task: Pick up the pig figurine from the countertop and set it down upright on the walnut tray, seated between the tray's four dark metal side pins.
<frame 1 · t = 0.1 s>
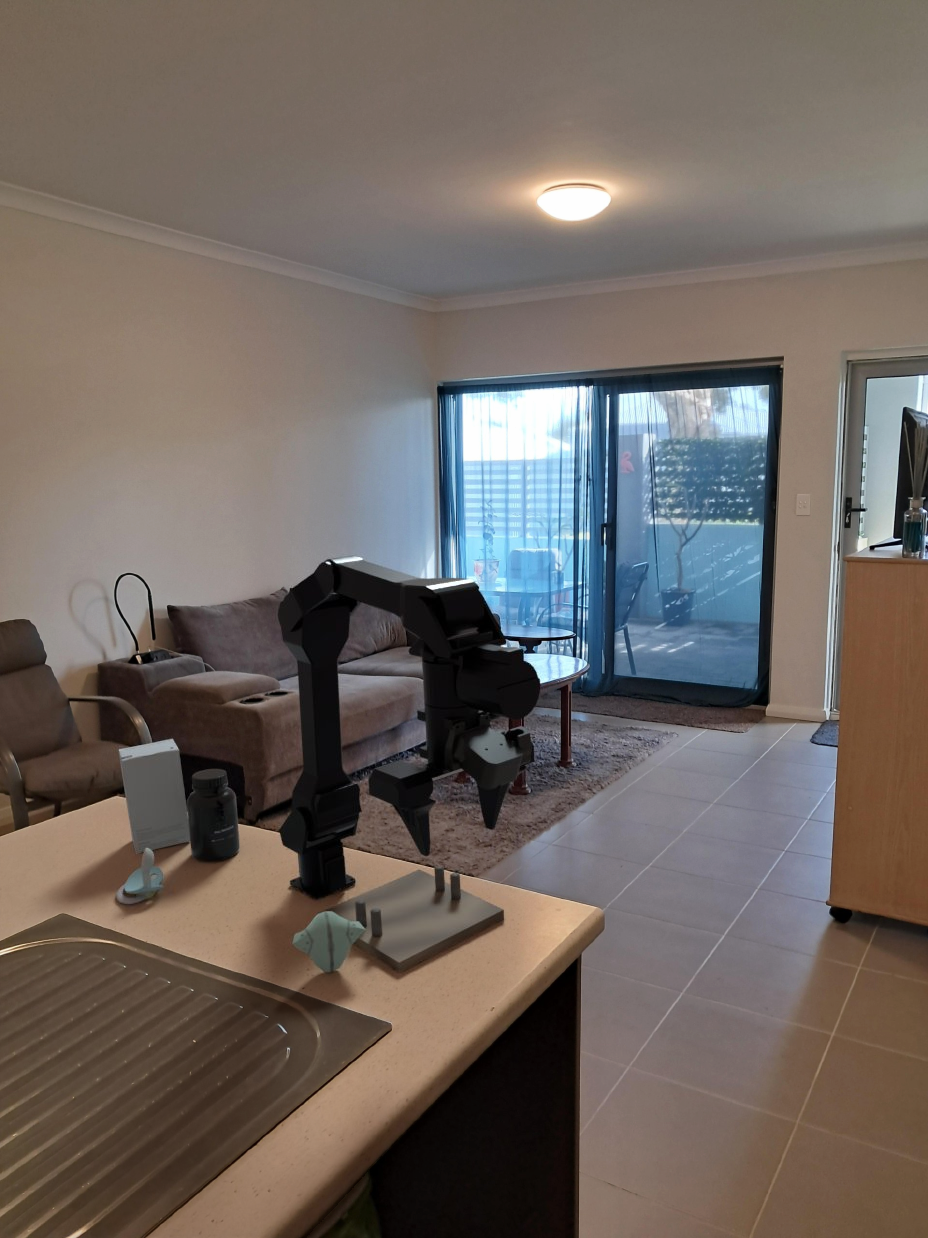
hand: (458, 841, 100), 15 cm above the counter, tool pointing down, fingers open, 9 cm apart
pacifier: (140, 896, 124), on the counter
skincare box: (160, 843, 140), on the counter
pin tray: (410, 920, 113), on the counter
pig figurine: (330, 972, 104), on the counter
supplement bottle: (216, 854, 135), on the counter
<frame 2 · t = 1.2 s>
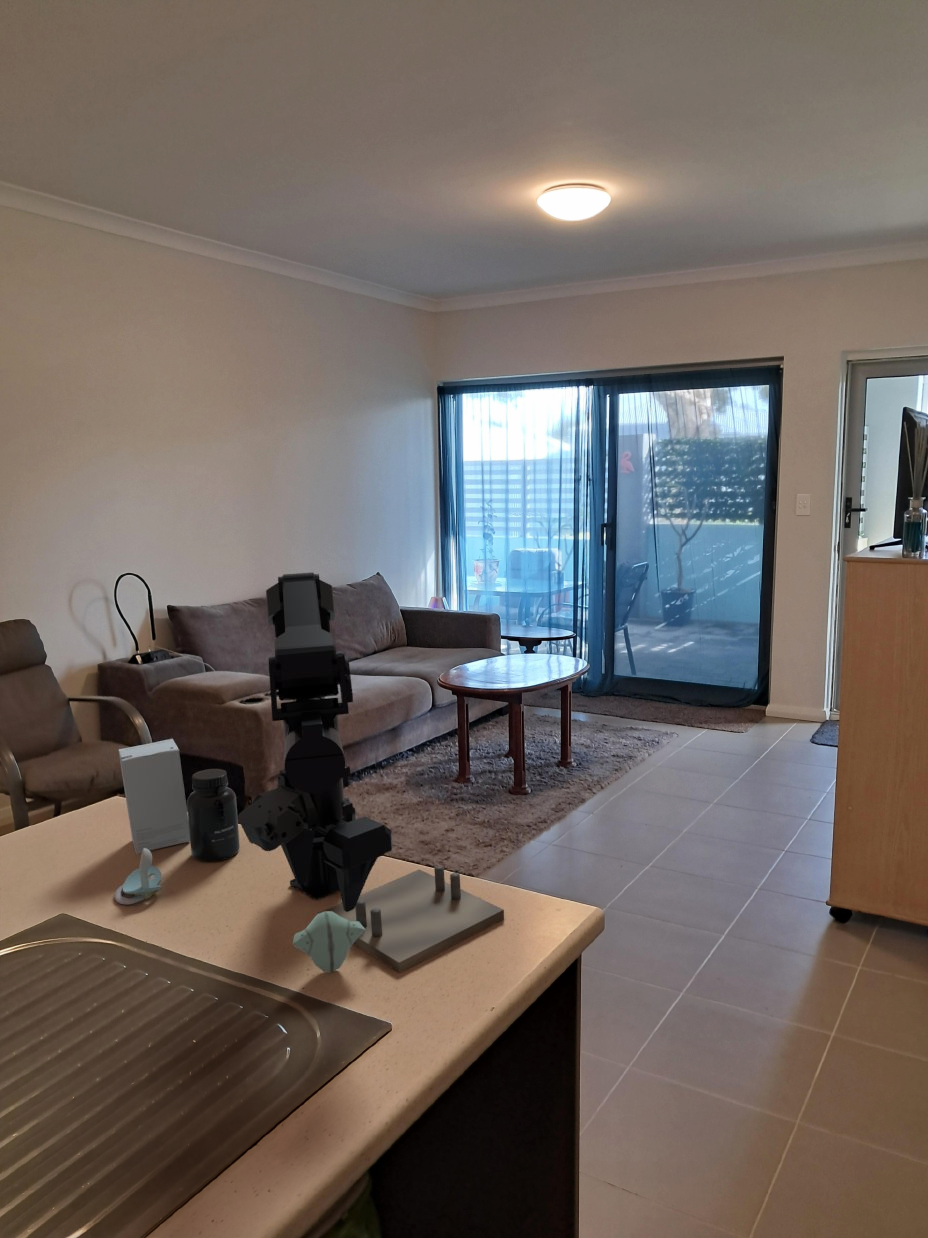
hand: (324, 896, 102), 9 cm above the counter, tool pointing down, fingers open, 9 cm apart
nothing on the counter moved.
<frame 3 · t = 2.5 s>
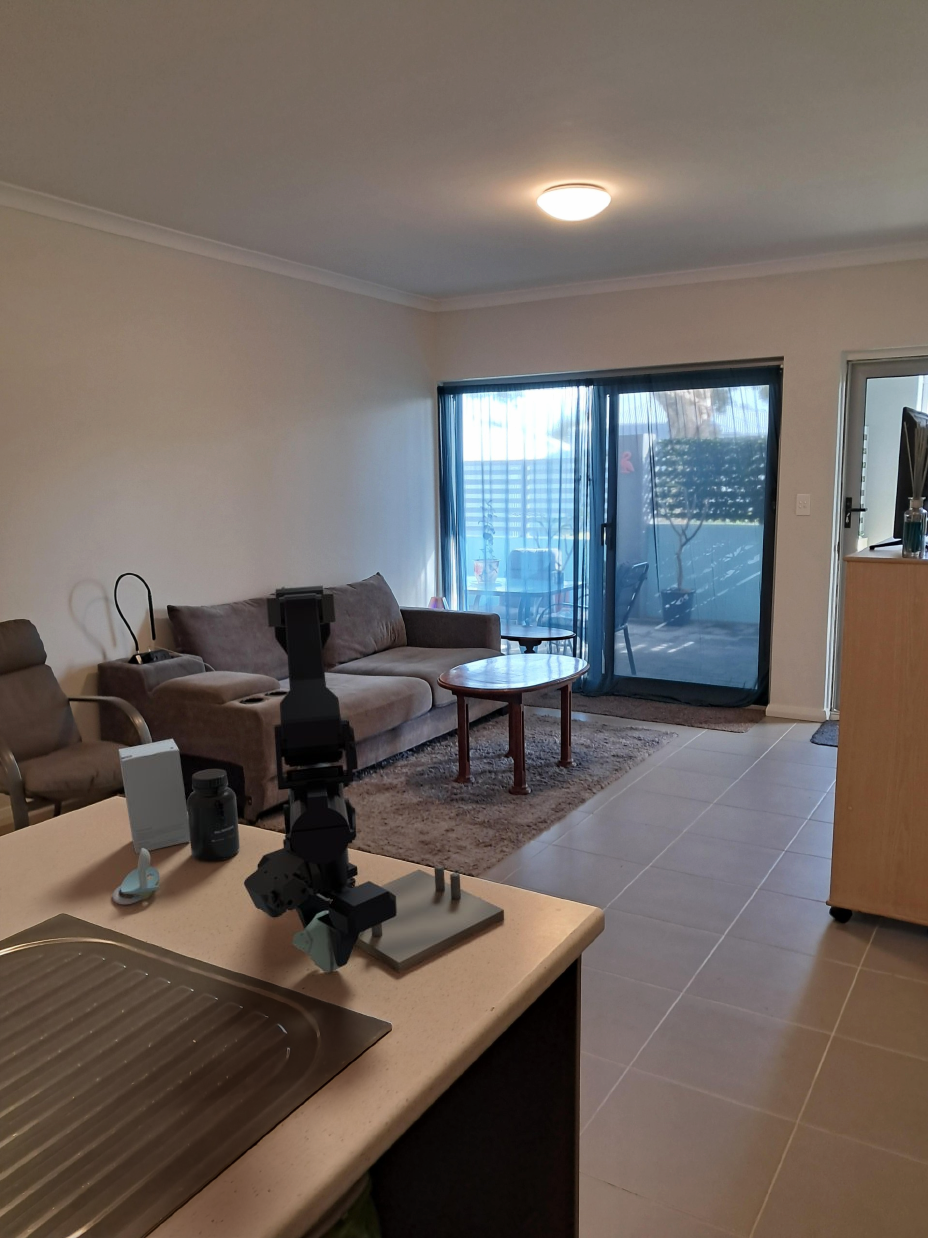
hand: (329, 957, 103), 2 cm above the counter, tool pointing down, fingers closed on pig figurine, 4 cm apart
pig figurine: (330, 971, 104), on the counter, touching gripper
everything else where it was.
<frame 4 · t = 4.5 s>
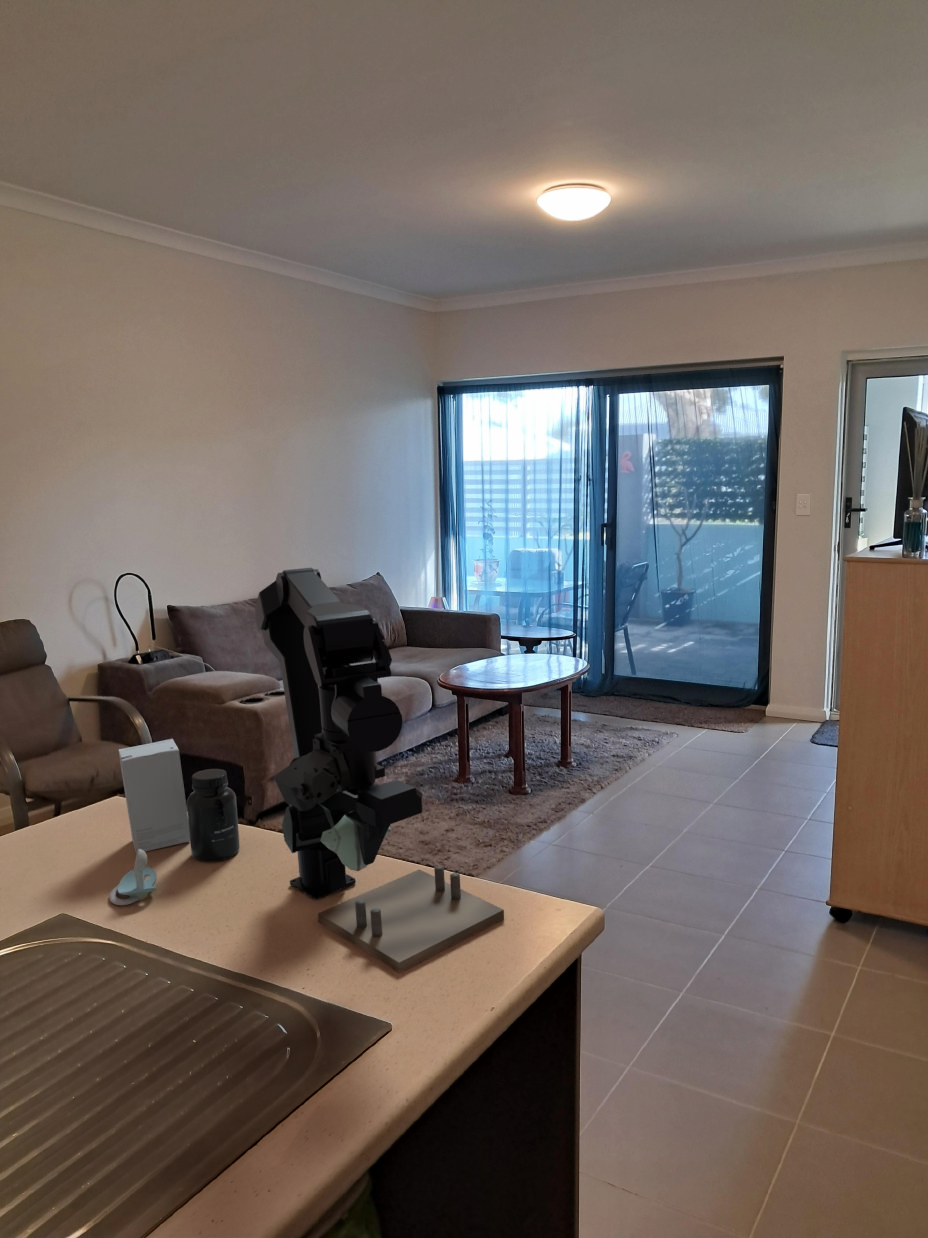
hand: (356, 857, 106), 11 cm above the counter, tool pointing down, fingers closed on pig figurine, 4 cm apart
pig figurine: (357, 871, 106), point 9 cm above the counter, touching gripper
everything else where it was.
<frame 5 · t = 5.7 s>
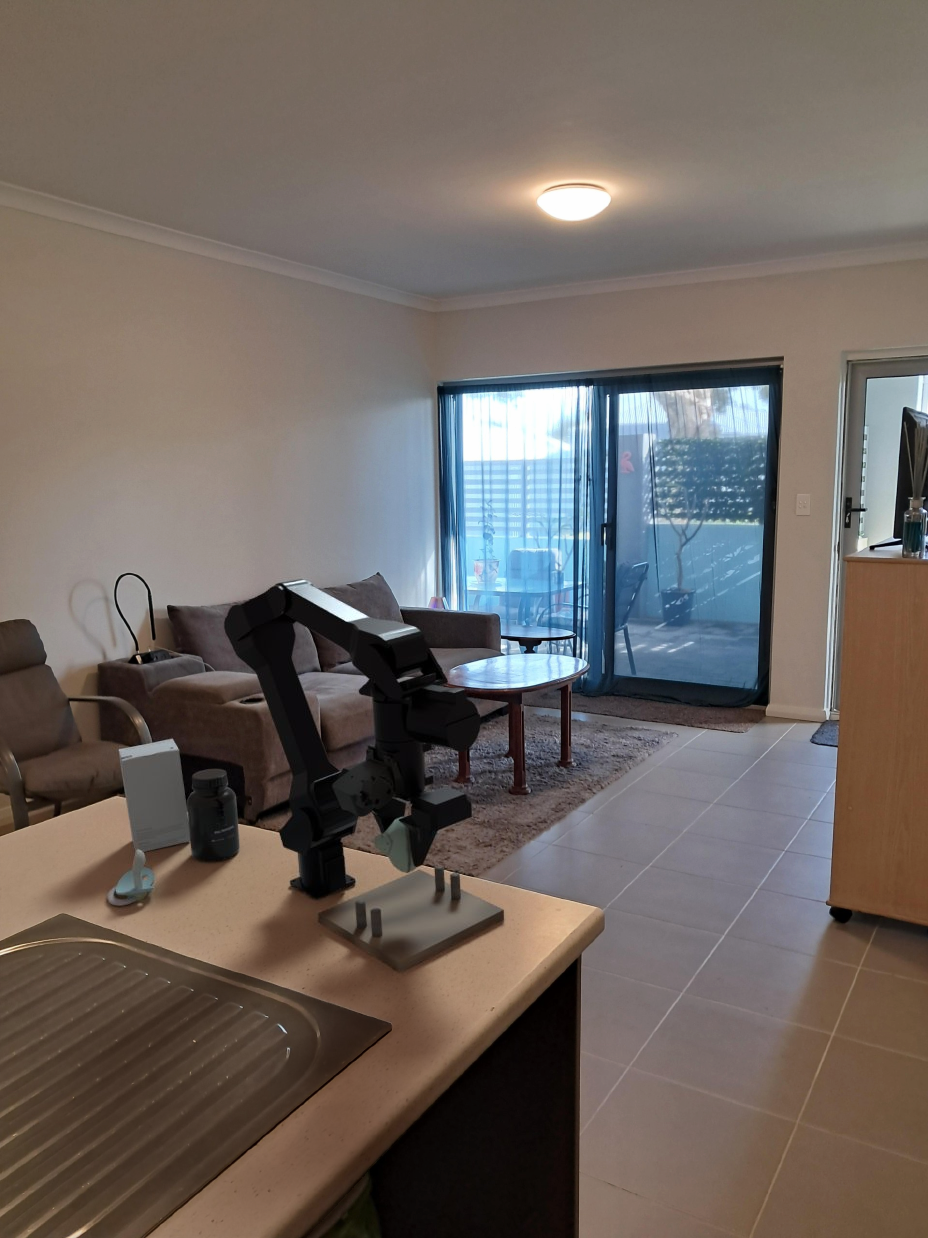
hand: (406, 860, 112), 8 cm above the counter, tool pointing down, fingers closed on pig figurine, 4 cm apart
pig figurine: (406, 873, 113), point 6 cm above the counter, touching gripper
when the fingers open (4 cm above the counter, at t = 6.6 s): pig figurine drops 1 cm, resting on pin tray.
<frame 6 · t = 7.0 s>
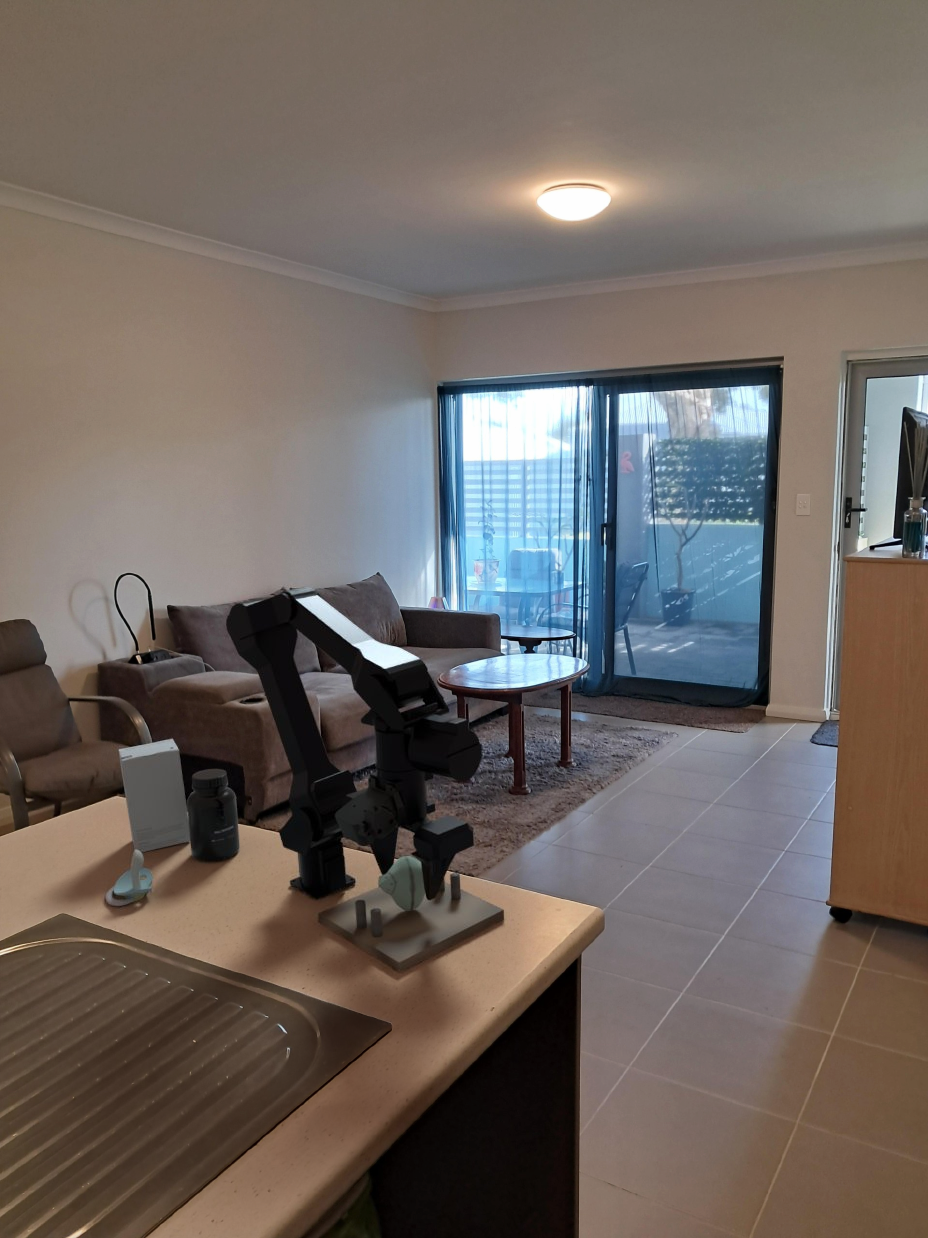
hand: (408, 887, 113), 4 cm above the counter, tool pointing down, fingers open, 8 cm apart
pig figurine: (409, 911, 114), point 1 cm above the counter, touching pin tray
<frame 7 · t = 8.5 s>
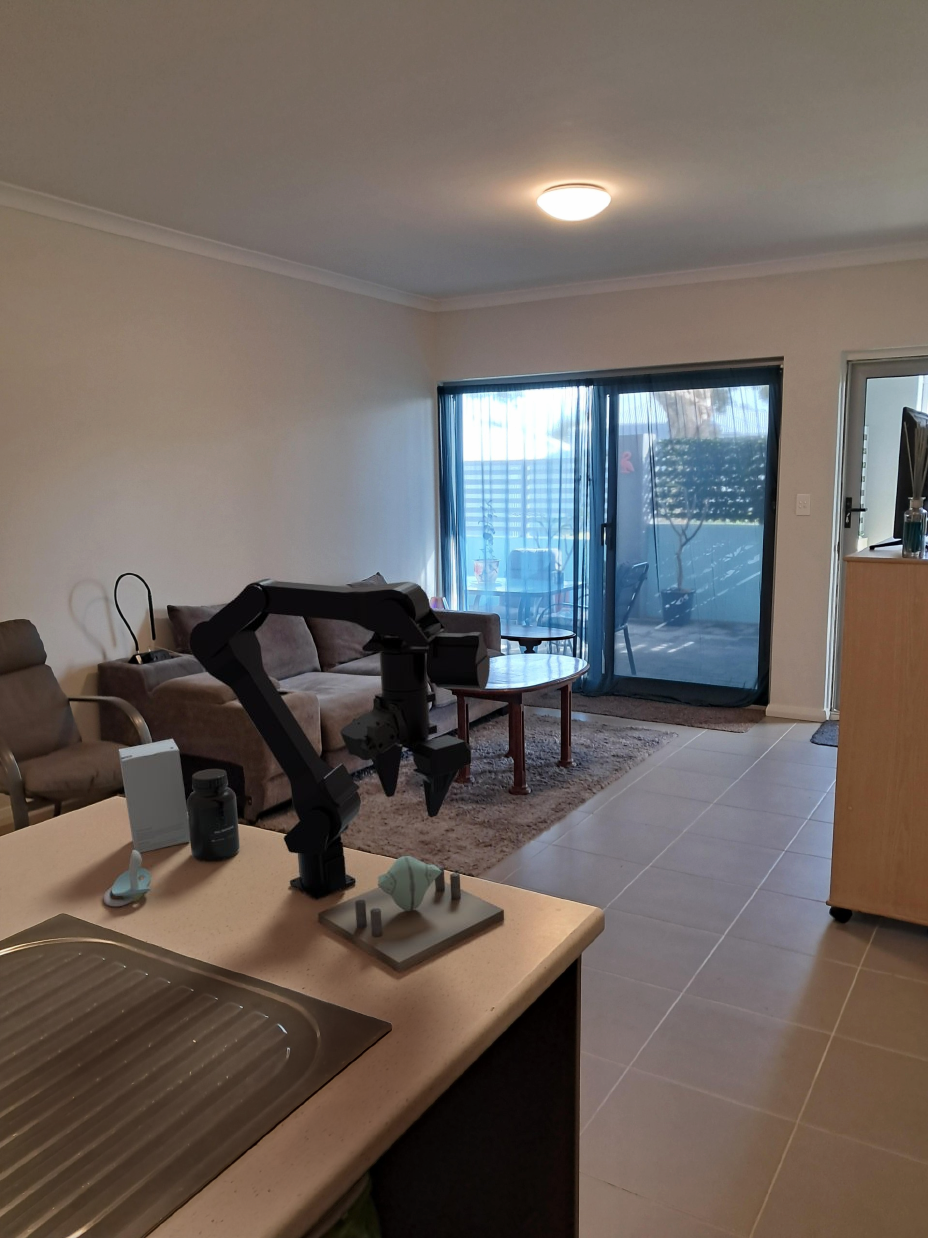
hand: (410, 806, 118), 12 cm above the counter, tool pointing down, fingers open, 9 cm apart
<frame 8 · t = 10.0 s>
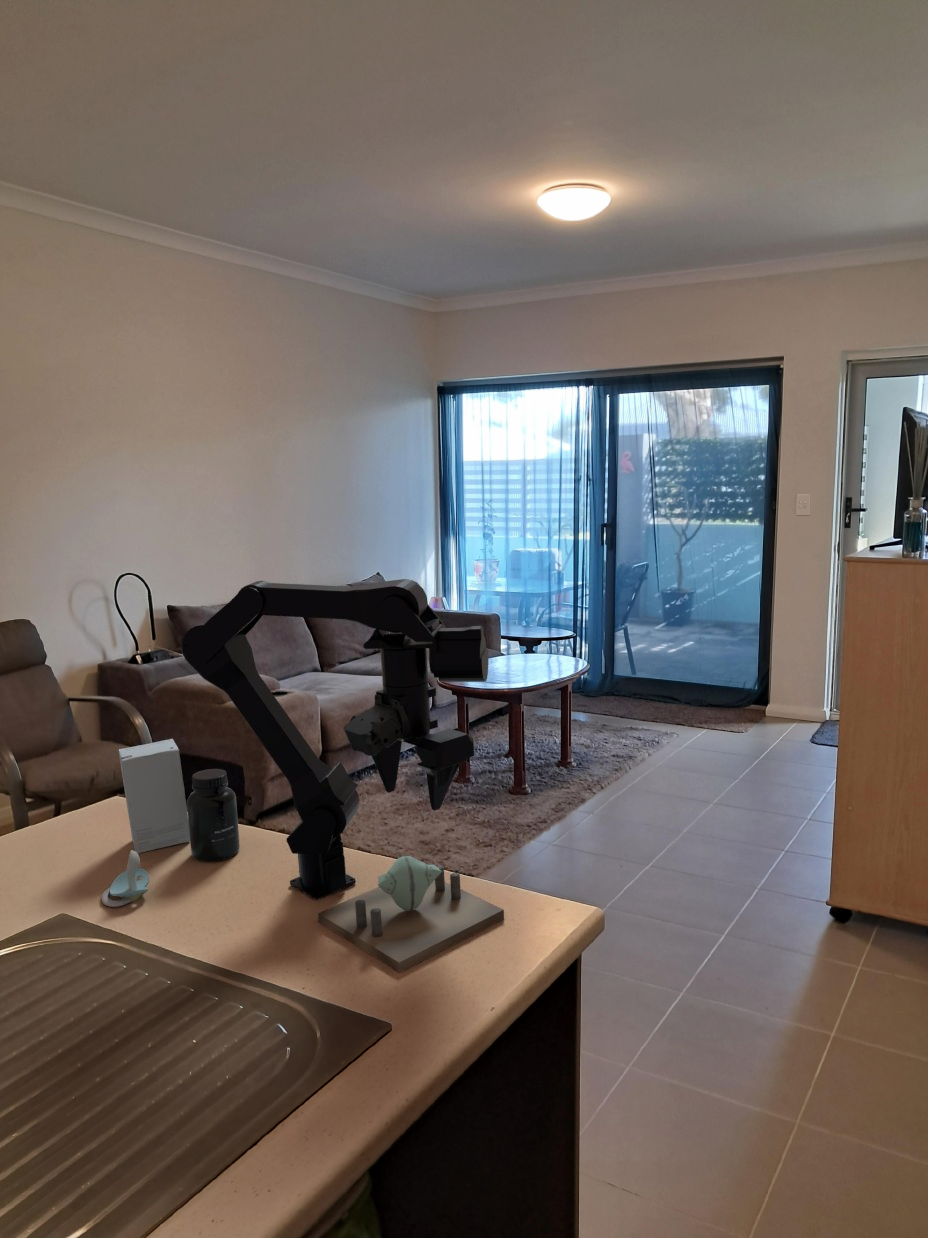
hand: (412, 800, 120), 12 cm above the counter, tool pointing down, fingers open, 9 cm apart
at the end: pig figurine 0.4 cm off-centre on the pin tray, point 1.0 cm above the pin tray's base; pig figurine tilted 0°; the gripper is holding nothing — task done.
